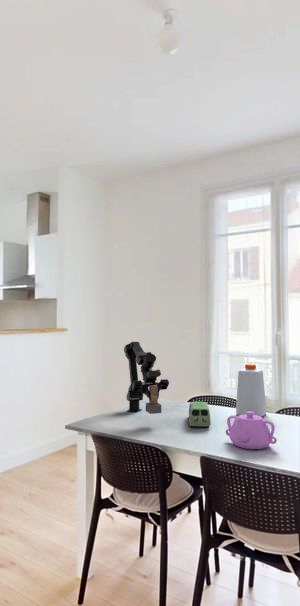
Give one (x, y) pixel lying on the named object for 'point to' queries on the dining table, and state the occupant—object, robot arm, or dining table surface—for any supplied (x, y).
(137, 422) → the dining table surface
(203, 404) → the toy car
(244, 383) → the plastic bottle
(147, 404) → the tall wooden pillar block
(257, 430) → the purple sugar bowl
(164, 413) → the dining table surface
